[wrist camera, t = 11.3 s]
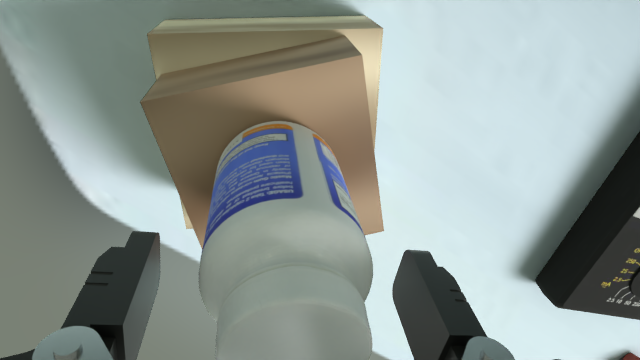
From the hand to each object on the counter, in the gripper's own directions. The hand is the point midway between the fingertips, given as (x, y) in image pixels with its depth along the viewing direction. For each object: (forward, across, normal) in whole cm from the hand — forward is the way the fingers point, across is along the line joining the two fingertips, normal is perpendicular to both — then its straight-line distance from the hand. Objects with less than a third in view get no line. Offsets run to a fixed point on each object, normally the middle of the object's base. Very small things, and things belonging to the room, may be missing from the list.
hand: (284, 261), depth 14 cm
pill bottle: (+6, 0, 0) cm, 6 cm away
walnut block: (+10, 0, 0) cm, 10 cm away
